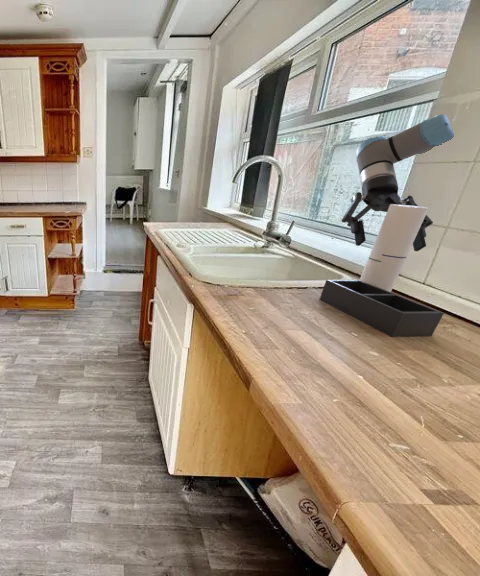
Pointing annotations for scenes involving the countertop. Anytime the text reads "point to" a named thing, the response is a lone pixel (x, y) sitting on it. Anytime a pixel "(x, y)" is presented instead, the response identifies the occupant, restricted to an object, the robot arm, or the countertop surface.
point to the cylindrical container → (393, 245)
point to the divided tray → (381, 308)
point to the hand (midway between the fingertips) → (390, 245)
